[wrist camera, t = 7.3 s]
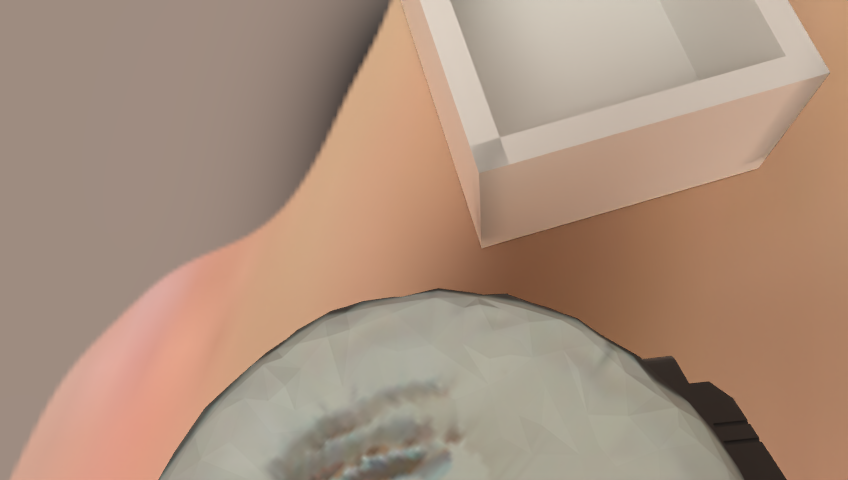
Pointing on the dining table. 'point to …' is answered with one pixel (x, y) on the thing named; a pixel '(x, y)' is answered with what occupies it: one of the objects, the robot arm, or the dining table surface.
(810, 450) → the dining table surface
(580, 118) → the bottle holder
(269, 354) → the sauce bottle
